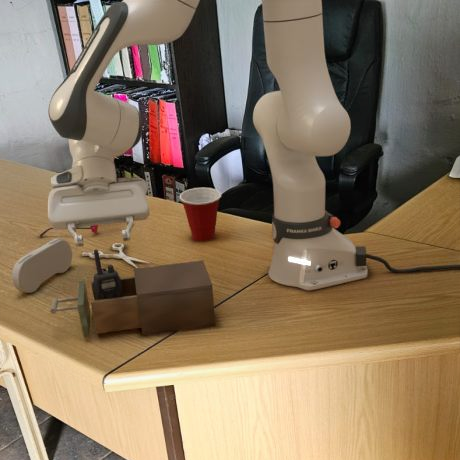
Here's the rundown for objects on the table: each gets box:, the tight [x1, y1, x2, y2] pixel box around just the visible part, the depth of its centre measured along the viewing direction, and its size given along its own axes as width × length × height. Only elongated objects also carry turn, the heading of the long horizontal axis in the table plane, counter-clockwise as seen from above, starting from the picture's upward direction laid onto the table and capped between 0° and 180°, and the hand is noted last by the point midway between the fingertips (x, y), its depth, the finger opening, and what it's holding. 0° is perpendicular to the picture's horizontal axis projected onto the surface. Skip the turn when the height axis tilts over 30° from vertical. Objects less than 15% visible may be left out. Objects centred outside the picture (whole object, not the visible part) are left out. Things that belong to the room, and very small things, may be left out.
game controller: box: [11, 237, 73, 294], centre depth 150 cm, size 20×2×8 cm, turn 156°
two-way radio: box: [92, 248, 123, 300], centre depth 126 cm, size 6×4×15 cm
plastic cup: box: [179, 187, 222, 242], centre depth 167 cm, size 11×11×12 cm
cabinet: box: [133, 259, 216, 337], centre depth 130 cm, size 15×13×9 cm
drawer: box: [50, 275, 142, 339], centre depth 128 cm, size 19×11×7 cm, turn 100°
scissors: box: [81, 242, 150, 269], centre depth 160 cm, size 11×1×20 cm
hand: (103, 242), depth 128 cm, fingers open, 8 cm apart
